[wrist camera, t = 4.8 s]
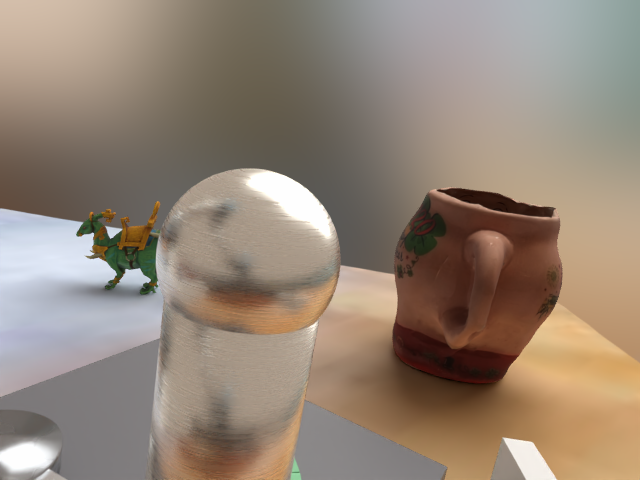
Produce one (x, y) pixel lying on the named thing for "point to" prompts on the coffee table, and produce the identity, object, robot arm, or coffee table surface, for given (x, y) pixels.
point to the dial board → (135, 423)
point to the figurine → (125, 246)
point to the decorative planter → (474, 282)
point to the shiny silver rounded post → (222, 335)
